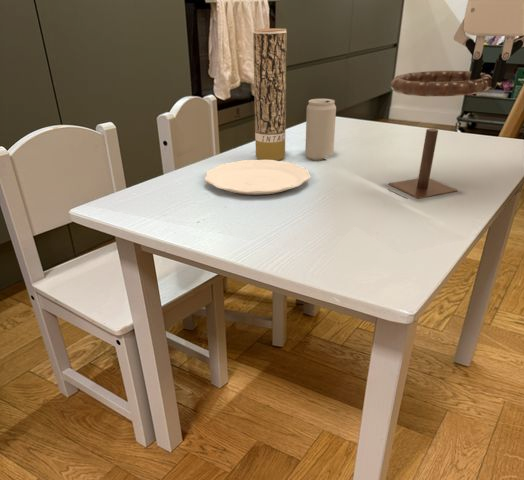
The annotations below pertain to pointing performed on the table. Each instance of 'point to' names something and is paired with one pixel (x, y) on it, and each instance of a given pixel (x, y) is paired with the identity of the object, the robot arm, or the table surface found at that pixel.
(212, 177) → the plate
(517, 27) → the robot arm
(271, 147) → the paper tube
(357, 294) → the table surface
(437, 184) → the peg stand
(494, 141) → the table surface
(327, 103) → the beverage can
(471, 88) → the ring
